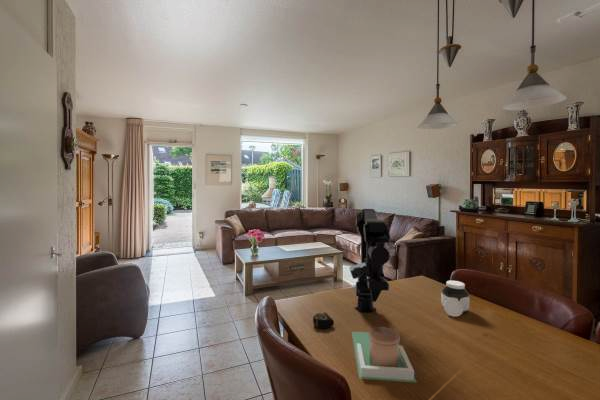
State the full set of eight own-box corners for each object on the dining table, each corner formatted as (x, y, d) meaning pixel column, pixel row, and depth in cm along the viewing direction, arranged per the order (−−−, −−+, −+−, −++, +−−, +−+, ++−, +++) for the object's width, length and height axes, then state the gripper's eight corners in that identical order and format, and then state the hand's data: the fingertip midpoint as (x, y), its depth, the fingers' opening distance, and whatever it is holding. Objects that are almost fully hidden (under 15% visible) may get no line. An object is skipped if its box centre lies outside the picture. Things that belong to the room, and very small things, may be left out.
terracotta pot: (379, 352, 89) (380, 324, 89) (404, 365, 83) (405, 335, 82) (362, 363, 84) (363, 333, 83) (387, 378, 77) (388, 345, 77)
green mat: (351, 332, 102) (351, 331, 102) (394, 335, 101) (394, 333, 101) (359, 379, 77) (359, 378, 77) (416, 383, 76) (416, 382, 76)
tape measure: (334, 328, 105) (334, 318, 105) (316, 331, 103) (317, 321, 103) (327, 320, 112) (327, 311, 111) (310, 322, 110) (310, 313, 109)
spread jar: (460, 306, 125) (461, 280, 125) (477, 318, 114) (478, 289, 114) (433, 306, 125) (434, 280, 125) (448, 318, 114) (448, 289, 113)
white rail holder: (356, 351, 90) (356, 343, 90) (402, 353, 89) (402, 346, 89) (361, 376, 78) (361, 367, 78) (413, 380, 77) (414, 371, 76)
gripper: (349, 250, 109) (348, 290, 110) (353, 263, 91) (352, 311, 92) (379, 251, 108) (378, 292, 109) (389, 264, 90) (388, 313, 90)
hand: (374, 301), depth 100 cm, fingers closed
